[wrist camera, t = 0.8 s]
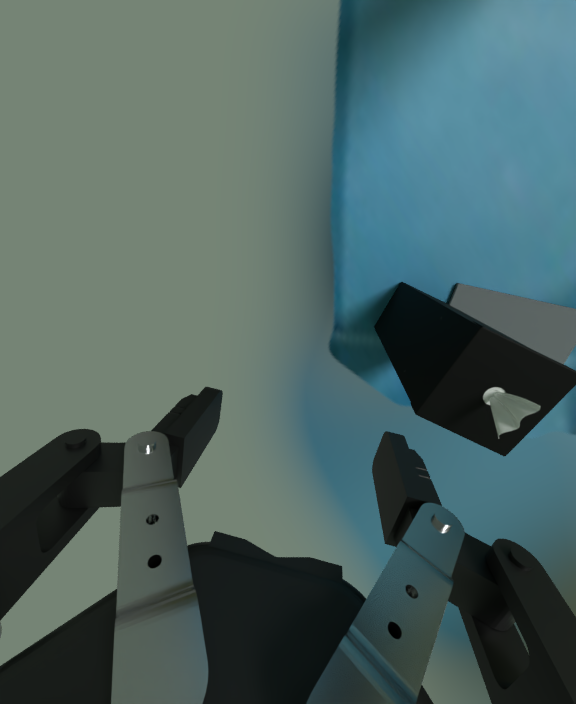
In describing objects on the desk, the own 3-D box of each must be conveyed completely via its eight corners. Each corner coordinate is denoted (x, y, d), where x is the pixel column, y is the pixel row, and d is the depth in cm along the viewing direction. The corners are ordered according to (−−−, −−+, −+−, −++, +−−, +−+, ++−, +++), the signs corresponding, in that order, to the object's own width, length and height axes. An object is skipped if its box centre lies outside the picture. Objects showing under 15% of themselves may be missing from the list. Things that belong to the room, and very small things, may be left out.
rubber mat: (457, 282, 41) (458, 283, 41) (591, 312, 40) (595, 313, 40) (425, 358, 46) (426, 360, 45) (545, 387, 45) (548, 389, 44)
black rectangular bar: (373, 327, 45) (427, 441, 19) (400, 280, 42) (510, 341, 16) (418, 348, 45) (532, 491, 19) (448, 303, 42) (632, 400, 16)
